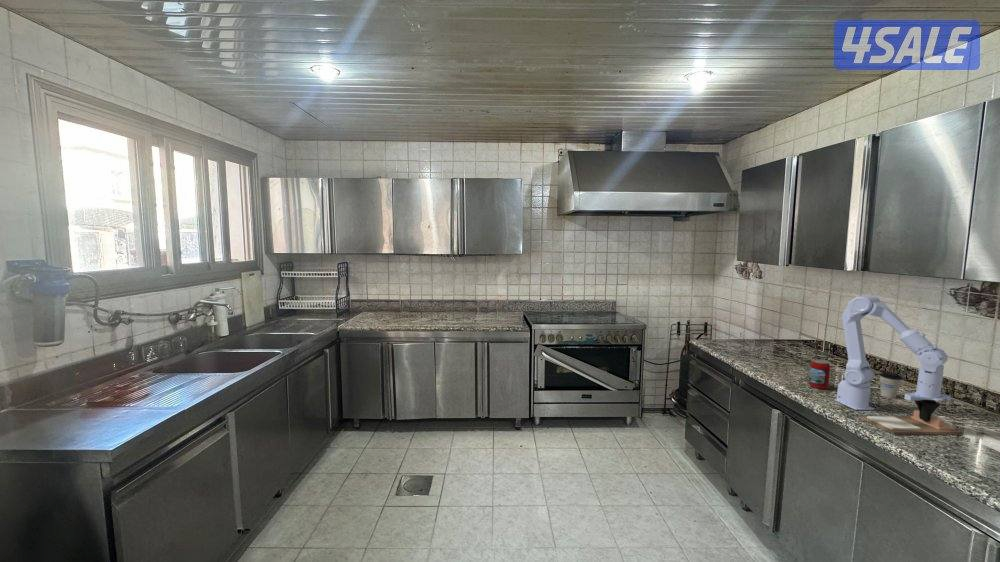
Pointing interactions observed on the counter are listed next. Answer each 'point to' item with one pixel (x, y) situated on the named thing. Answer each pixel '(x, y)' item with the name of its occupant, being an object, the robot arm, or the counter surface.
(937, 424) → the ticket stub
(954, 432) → the board
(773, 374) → the counter surface
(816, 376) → the beverage can
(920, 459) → the counter surface
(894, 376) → the coffee cup
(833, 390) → the counter surface
